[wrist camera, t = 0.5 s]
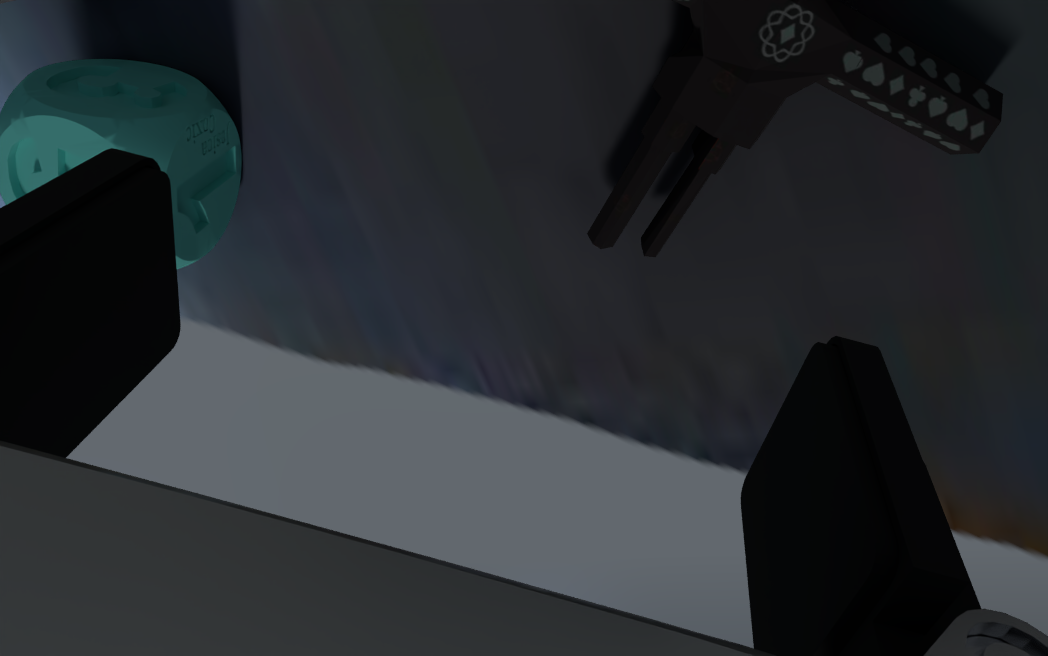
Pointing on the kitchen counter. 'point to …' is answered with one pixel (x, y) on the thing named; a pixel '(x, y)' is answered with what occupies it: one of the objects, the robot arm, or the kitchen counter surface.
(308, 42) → the kitchen counter surface
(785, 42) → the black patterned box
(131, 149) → the decorative dice
